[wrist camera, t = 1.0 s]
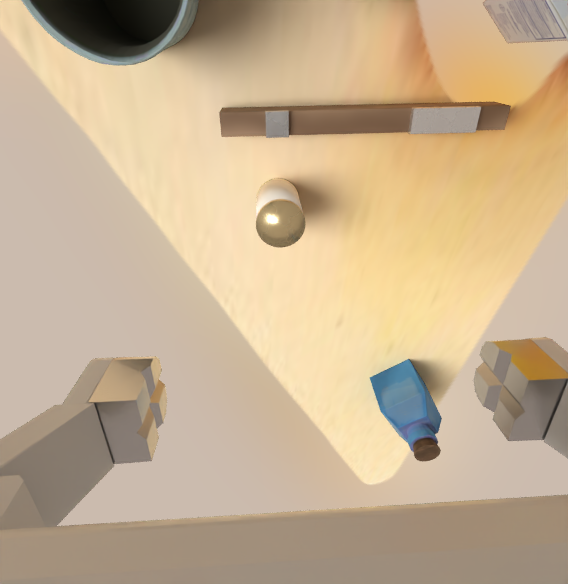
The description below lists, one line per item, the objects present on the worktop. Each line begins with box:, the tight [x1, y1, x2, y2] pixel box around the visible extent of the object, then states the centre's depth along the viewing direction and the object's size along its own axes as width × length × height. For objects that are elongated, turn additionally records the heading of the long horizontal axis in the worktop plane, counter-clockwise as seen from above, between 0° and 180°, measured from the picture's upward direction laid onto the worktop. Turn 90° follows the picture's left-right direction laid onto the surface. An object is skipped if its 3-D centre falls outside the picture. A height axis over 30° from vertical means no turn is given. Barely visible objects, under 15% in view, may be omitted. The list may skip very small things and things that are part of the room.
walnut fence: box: [219, 102, 511, 138], centre depth 36 cm, size 2×26×4 cm, turn 91°
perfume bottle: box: [370, 359, 442, 461], centre depth 52 cm, size 6×6×12 cm
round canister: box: [256, 178, 305, 247], centre depth 39 cm, size 4×4×7 cm
